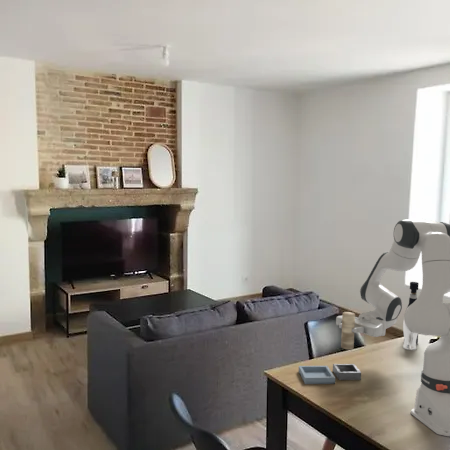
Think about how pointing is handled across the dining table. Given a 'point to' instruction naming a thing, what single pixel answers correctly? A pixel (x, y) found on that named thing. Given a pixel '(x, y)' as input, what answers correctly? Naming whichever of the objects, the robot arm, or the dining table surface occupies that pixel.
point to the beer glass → (409, 338)
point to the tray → (316, 375)
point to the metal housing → (346, 372)
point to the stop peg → (347, 330)
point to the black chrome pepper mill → (413, 296)
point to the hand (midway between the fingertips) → (346, 328)
